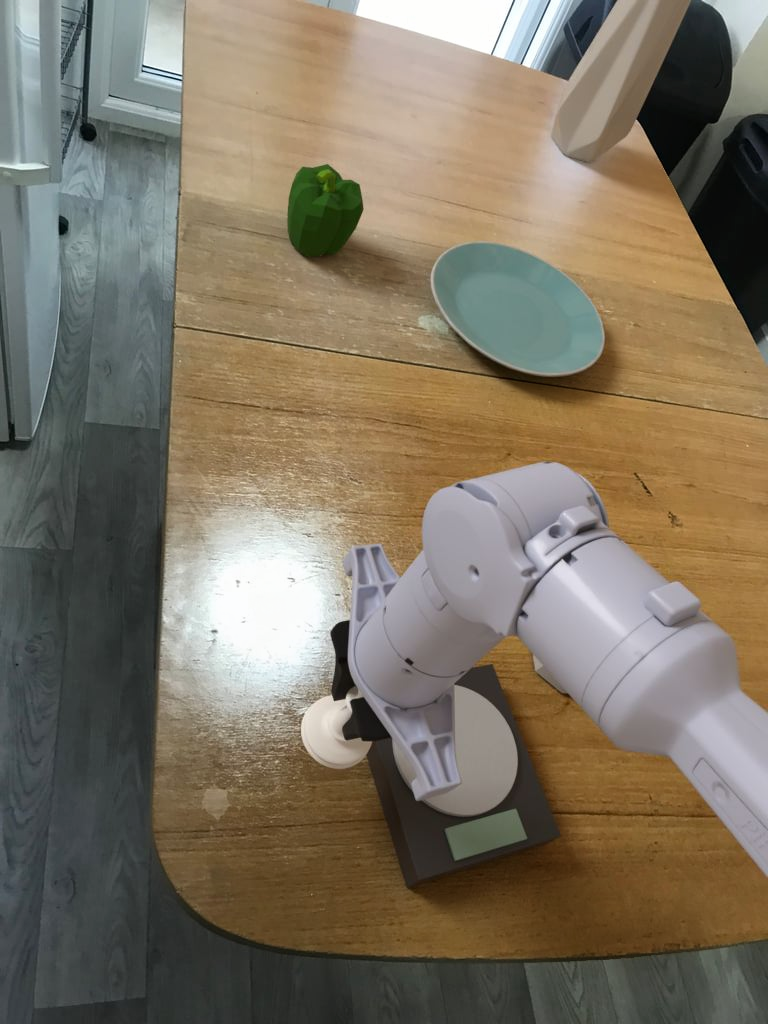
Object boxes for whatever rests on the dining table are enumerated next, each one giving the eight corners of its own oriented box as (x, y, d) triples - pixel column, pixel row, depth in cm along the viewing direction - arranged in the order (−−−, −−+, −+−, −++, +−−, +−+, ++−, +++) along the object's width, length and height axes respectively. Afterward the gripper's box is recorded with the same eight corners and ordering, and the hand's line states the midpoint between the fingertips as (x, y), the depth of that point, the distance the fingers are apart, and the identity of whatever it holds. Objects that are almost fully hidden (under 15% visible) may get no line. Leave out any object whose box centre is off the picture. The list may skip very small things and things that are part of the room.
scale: (545, 844, 64) (565, 834, 62) (406, 888, 59) (421, 878, 56) (480, 676, 71) (495, 661, 68) (349, 701, 65) (361, 686, 63)
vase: (570, 119, 136) (693, -109, 111) (618, 163, 133) (756, -61, 108) (522, 126, 129) (641, -116, 104) (571, 173, 126) (707, -65, 101)
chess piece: (293, 703, 56) (336, 639, 49) (360, 692, 58) (411, 629, 51) (310, 775, 54) (358, 720, 46) (379, 761, 56) (436, 706, 48)
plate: (422, 362, 91) (432, 343, 89) (423, 237, 104) (431, 218, 102) (604, 412, 96) (617, 395, 94) (582, 287, 109) (594, 270, 107)
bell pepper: (324, 215, 100) (348, 140, 92) (359, 262, 97) (387, 189, 89) (262, 222, 95) (282, 143, 88) (296, 271, 92) (320, 195, 85)
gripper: (551, 746, 42) (443, 812, 52) (454, 499, 48) (375, 603, 59) (427, 777, 39) (339, 841, 49) (341, 509, 45) (280, 617, 56)
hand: (352, 713), depth 54 cm, fingers closed on chess piece
